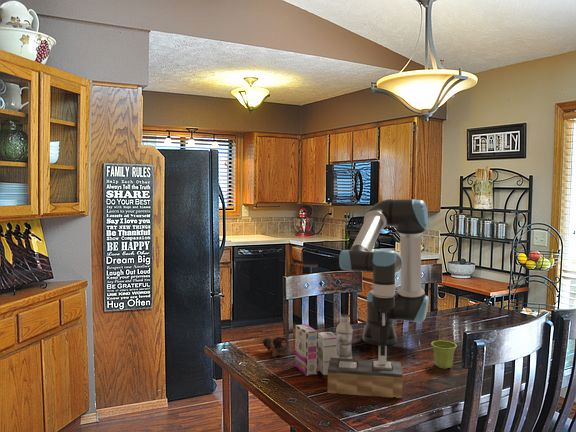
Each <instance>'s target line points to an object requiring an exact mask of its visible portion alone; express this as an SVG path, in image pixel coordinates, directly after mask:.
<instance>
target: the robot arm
mask: <svg viewBox="0 0 576 432" xmlns="http://www.w3.org/2000/svg"><path fill="white" fill-rule="evenodd" d="M386 227H392V228H394V227H395V228H396V230H395V231H396V233H397V234H398V235H399V245H400V246H399V248H400V249H399V252H400V253H398V252H397V251H395V250H393V249H375V250H374V251H372V250H373V249H374V246H375V244H376V241H377V240H378V238H379V235H380V233H381V231H383V230H384V229H385V228H386ZM428 227H429V211H428V207H427V204H426V202H425V201H424V200H422V199H413V198H412V199H405V198H403V199H400V198H399V199H397V198H396V199H393V198H392V199H391V198H389V199H384V200H381V201H379V202H376V203H375V204H374V205H372V206H371V207H369V209H368V210H367V211H366V213H365V214H364V216H363V224H362V226H361V228H360V230H359V232H358V234H357V235H356V238H355V239H354V241H353V244H352V246H351V247H350V249H343V250H341V251H340V253H339V258H338V262H339V263H338V264H339V268H340V270H343V271H349V272H365V273H372V284H371V285H370V289H371V290H370V291H368V293H367V295H366V296H367V297H366V324H365V327H364V329H363V333H362V341H363V342H364V343H366V344H369V345H373V346H377V347H378V351H377V352H378V353H377V354H378V355H377V356H378V358H377V360H378V364H384V365H386V361H388V360H387V352H388V351H387V350H388V346H393V345H394V344H396V343H397V341H398V340H397V339H398V337H397V334H396V330H395V327H394V320H395V321H396V320H397V321H404V322H412V323H423V322H425V319H426V317H427V311H428V309H429V308H428V307H429V302H430V301H429V300H430V298H429V296H428V295H426V292H425V290H424V288H422V235H423V234H424V233H425V229H427V228H428ZM399 271H400V288H398V289H397V290H396V273H397V272H399ZM396 291H397V292H396Z"/></svg>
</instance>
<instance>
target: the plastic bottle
mask: <svg viewBox="0 0 576 432" xmlns="http://www.w3.org/2000/svg"><path fill="white" fill-rule="evenodd" d="M339 321H340V322H339V323H338V324H337V326H336V329H335V330H336V331H335V332H336V336H337V358H346V359H354V358H353V353H352V341H353V340H352V339H353V332H354V328H353V326H352V325H351V323H350V321H351V319H350V315H348V314H341V315H339Z"/></svg>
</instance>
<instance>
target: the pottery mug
mask: <svg viewBox="0 0 576 432" xmlns="http://www.w3.org/2000/svg"><path fill="white" fill-rule="evenodd" d="M283 342H285V343H286V345H284V344H282V343H283ZM262 344H263V346H264V347H265V348H266V349H267V351H268V352H269V351H271V352H272V353H271V356H272V357H273V358H276V357H277V356H280V355H281V356H282V355H284V354H286V353H287V352H288V351H289V349H291V346H290V344H289V340H288V339H287V338H286V337H284V336H281V335H277V336H273V338H268V337H265V338H264V339H263V340H262Z"/></svg>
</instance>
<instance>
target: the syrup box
mask: <svg viewBox="0 0 576 432" xmlns="http://www.w3.org/2000/svg"><path fill="white" fill-rule="evenodd" d="M337 347H338V343H337V334H335V333H334V332H332V331H322V332H318V368H317V371H318V372H319V373H321V374H322V375H323V376H328V367H329V362H330V358H337Z"/></svg>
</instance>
